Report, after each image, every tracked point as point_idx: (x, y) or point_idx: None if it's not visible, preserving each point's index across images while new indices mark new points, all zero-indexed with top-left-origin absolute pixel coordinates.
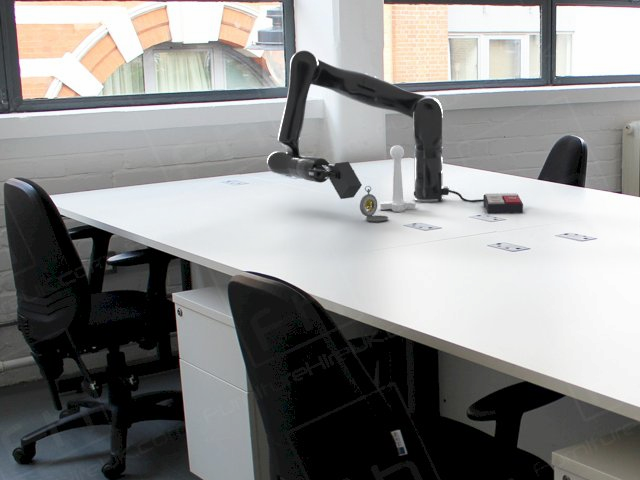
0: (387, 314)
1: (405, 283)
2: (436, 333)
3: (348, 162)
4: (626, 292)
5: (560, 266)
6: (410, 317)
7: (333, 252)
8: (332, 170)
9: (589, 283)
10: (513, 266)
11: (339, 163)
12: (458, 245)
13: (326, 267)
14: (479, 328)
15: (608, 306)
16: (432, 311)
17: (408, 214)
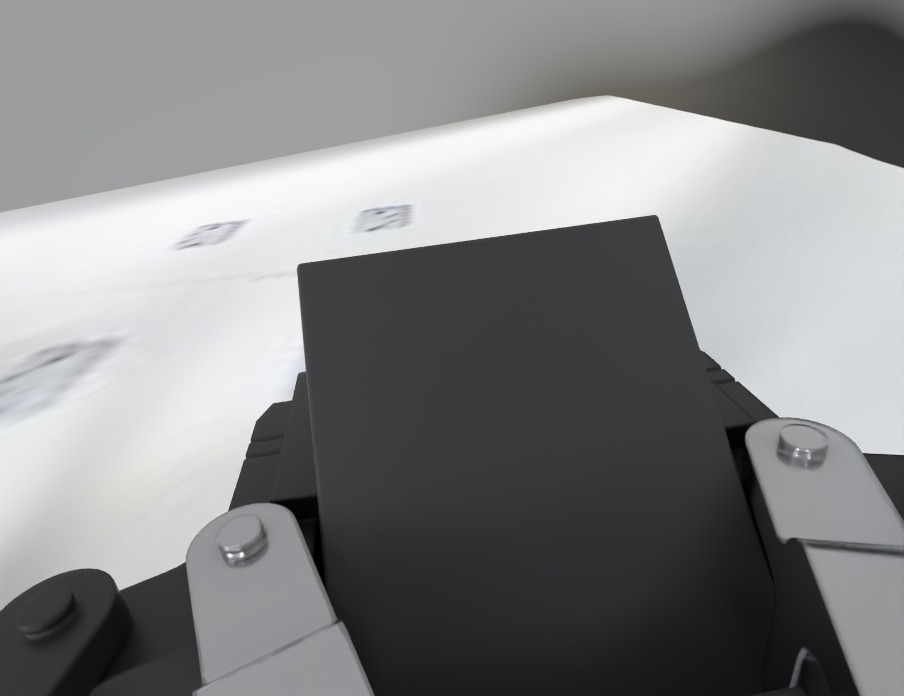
0: (743, 129)
1: (683, 158)
2: (706, 118)
3: (318, 270)
4: (458, 146)
5: (425, 175)
6: (719, 127)
7: (791, 237)
8: (702, 420)
9: (462, 154)
10: (481, 178)
11: (561, 235)
12: (454, 232)
13: (818, 191)
14: (660, 122)
15: (510, 136)
16: (687, 131)
17: None
